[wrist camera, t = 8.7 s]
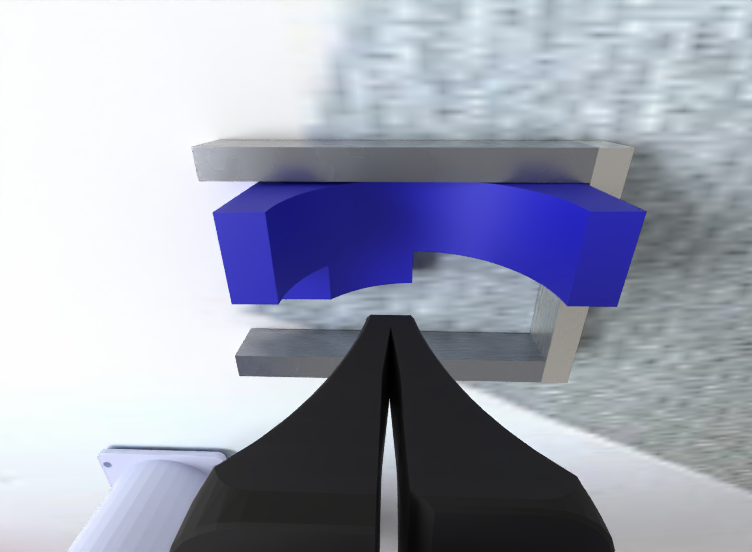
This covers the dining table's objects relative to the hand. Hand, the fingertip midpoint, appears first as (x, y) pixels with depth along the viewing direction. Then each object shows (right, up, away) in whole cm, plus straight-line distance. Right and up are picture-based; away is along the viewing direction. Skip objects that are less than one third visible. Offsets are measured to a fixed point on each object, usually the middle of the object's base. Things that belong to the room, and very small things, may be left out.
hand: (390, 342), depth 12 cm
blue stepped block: (+1, +4, +5) cm, 7 cm away
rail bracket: (0, +3, +6) cm, 6 cm away
